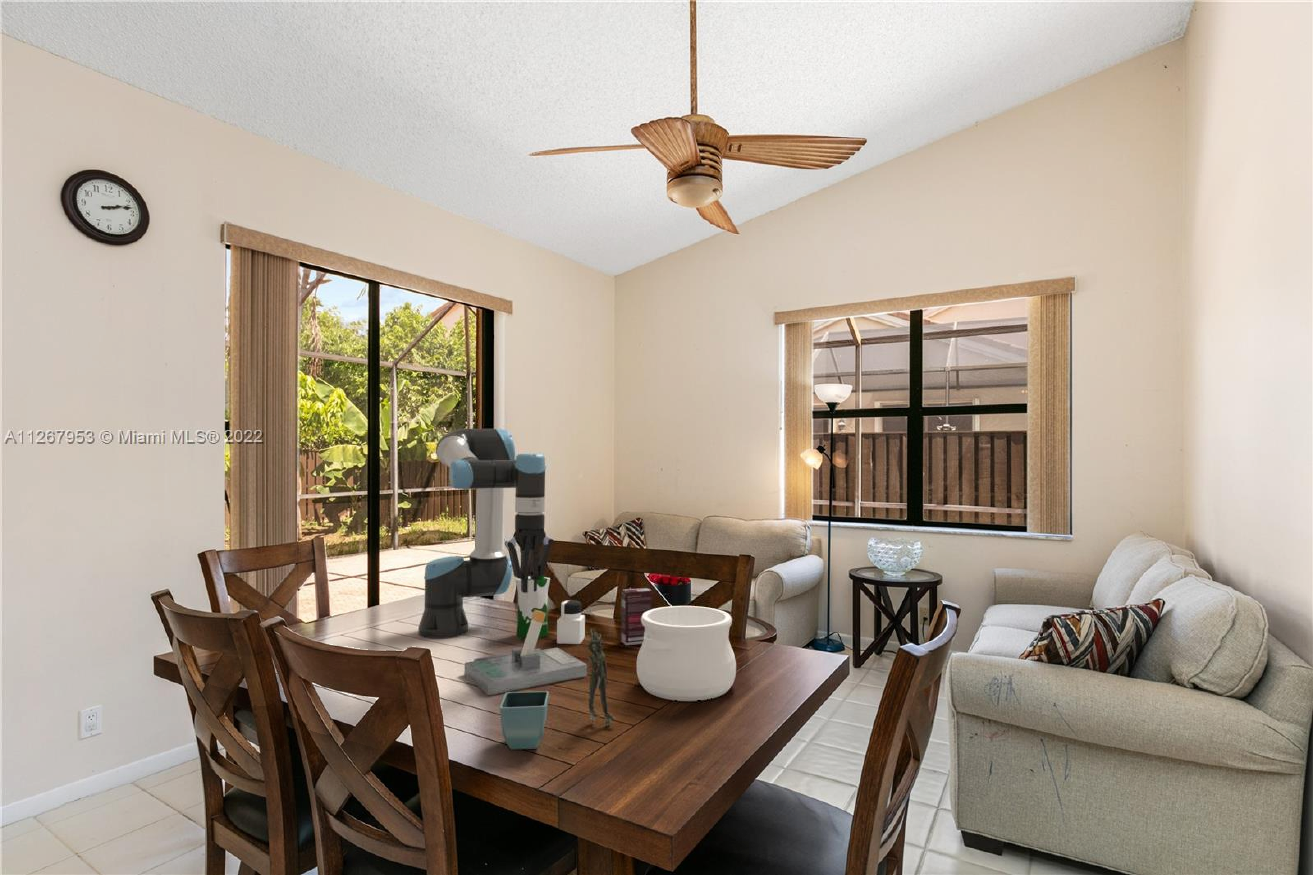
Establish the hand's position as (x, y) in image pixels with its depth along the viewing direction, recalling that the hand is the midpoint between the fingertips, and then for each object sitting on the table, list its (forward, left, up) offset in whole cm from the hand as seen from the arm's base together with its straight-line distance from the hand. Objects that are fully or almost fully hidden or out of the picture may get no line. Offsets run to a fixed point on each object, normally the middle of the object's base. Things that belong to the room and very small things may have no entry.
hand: (528, 604), depth 179 cm
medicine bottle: (-23, +23, -18) cm, 37 cm away
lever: (0, -1, -14) cm, 14 cm away
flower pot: (+39, -17, -18) cm, 47 cm away
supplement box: (-11, +39, -18) cm, 44 cm away
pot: (+29, +29, -18) cm, 45 cm away
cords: (-11, -1, -18) cm, 21 cm away
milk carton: (-34, +15, -18) cm, 41 cm away
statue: (+39, 0, -18) cm, 43 cm away
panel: (0, -1, -18) cm, 18 cm away
